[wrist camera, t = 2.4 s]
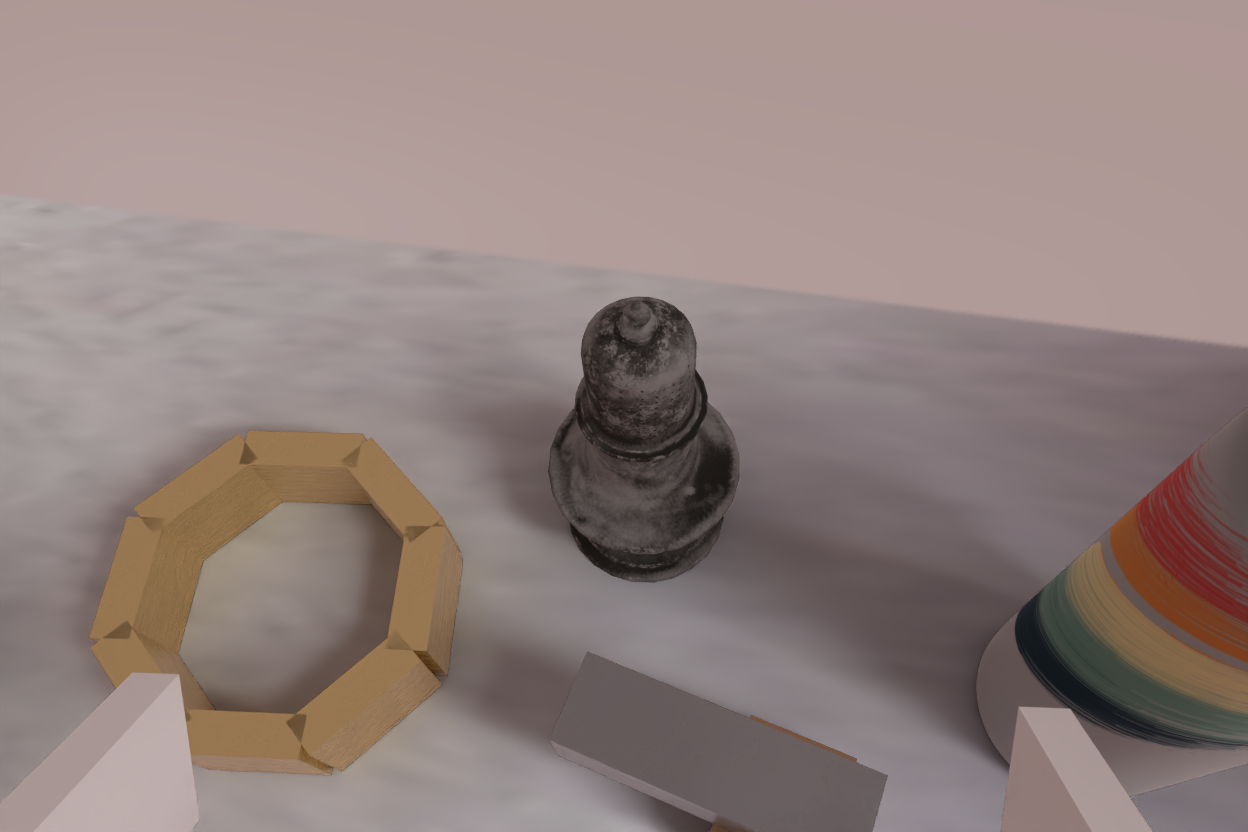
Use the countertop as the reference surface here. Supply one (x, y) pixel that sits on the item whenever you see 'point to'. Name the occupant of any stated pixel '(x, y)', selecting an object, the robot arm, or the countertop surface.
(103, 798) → the robot arm
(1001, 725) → the lotion bottle
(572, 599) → the countertop surface
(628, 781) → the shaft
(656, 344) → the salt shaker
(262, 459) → the brass collar
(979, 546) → the countertop surface
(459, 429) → the countertop surface
